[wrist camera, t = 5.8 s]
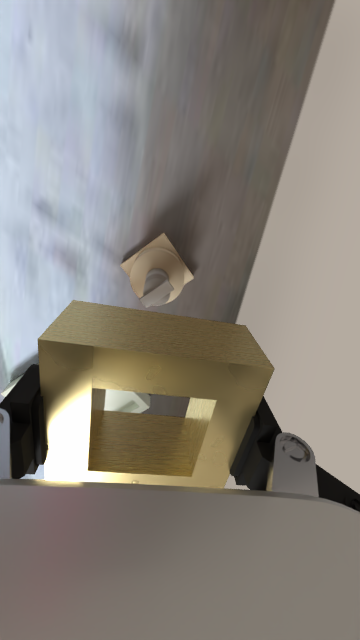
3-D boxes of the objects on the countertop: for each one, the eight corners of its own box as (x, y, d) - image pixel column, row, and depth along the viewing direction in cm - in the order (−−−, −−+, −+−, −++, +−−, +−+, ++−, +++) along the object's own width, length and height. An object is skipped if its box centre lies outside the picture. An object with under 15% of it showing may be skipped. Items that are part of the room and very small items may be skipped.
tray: (150, 396, 38) (149, 407, 36) (81, 436, 40) (77, 449, 38) (84, 330, 32) (79, 339, 30) (9, 382, 35) (0, 393, 33)
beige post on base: (193, 275, 30) (203, 302, 22) (152, 302, 31) (149, 337, 23) (163, 232, 27) (164, 245, 20) (121, 263, 29) (106, 287, 21)
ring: (245, 325, 10) (274, 368, 8) (198, 464, 14) (207, 526, 11) (73, 300, 9) (37, 338, 7) (71, 456, 13) (48, 521, 10)
